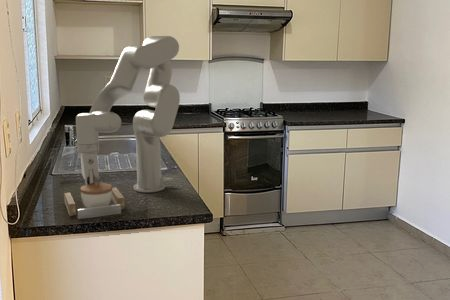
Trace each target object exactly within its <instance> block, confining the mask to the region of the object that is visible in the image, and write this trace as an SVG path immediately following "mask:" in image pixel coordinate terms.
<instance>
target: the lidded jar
mask: <svg viewBox="0 0 450 300" xmlns="http://www.w3.org/2000/svg"><path fill="white" fill-rule="evenodd" d="M112 188H113V186H112V184H109V183H104V182H97V181H94V184H91V185H90V184H87V185H85V184H84V185H82V186H80V197H81V201H82V204H83V205H84V206H85V208H91V207H99V206H107V205H111V204H110V203H111V201H112V199H111V198H112Z"/></svg>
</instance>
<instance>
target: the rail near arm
mask: <svg viewBox="0 0 450 300" xmlns="http://www.w3.org/2000/svg"><path fill="white" fill-rule="evenodd" d="M111 201H112V202H113V204H114V205H115V204H120V205H121V210H125V197H124V196H123V194H122V193H121V192H120V190H119V189H118V188H117V187H112V198H111Z"/></svg>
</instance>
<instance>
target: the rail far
mask: <svg viewBox="0 0 450 300" xmlns="http://www.w3.org/2000/svg"><path fill="white" fill-rule="evenodd" d="M63 195H64V205H65V208H66V210H67V212H68V215H69V216H71V217H72V216H76V215H77V212H76V210H77V209H76V203H75V201H74V198H73V196H72V194H71V192H64V193H63Z"/></svg>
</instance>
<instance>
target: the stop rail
mask: <svg viewBox="0 0 450 300" xmlns="http://www.w3.org/2000/svg"><path fill="white" fill-rule="evenodd" d="M76 210H77V218H78V220H83V219H84V220H85V219H91V218H98V217H99V218H100V217H104V216H106V217H107V216H115V215H121V214H122V209H121V205H120V204H115V203H114V204H109V205H107V206H99V207H91V208H87V207H85V208H78V209H76Z"/></svg>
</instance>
